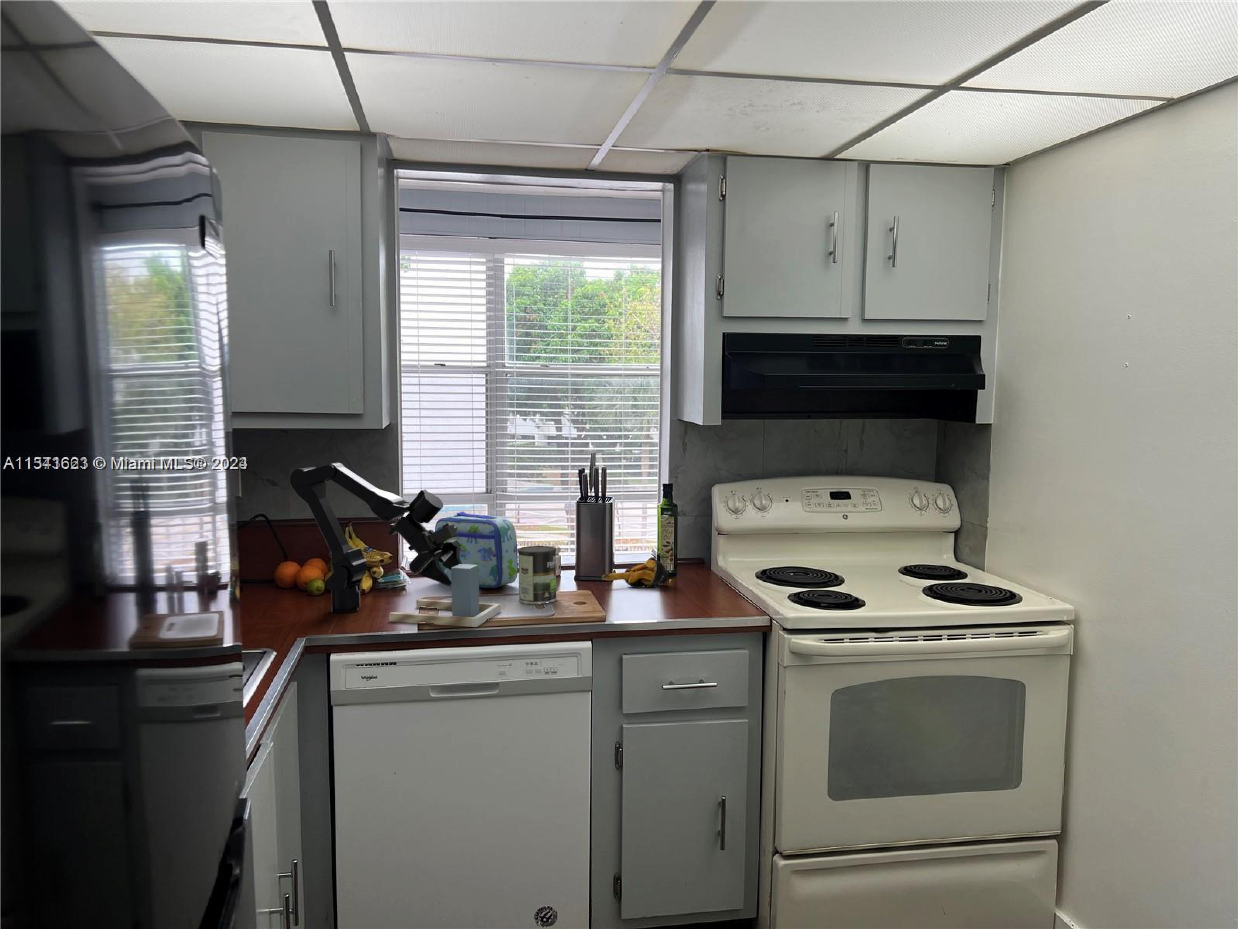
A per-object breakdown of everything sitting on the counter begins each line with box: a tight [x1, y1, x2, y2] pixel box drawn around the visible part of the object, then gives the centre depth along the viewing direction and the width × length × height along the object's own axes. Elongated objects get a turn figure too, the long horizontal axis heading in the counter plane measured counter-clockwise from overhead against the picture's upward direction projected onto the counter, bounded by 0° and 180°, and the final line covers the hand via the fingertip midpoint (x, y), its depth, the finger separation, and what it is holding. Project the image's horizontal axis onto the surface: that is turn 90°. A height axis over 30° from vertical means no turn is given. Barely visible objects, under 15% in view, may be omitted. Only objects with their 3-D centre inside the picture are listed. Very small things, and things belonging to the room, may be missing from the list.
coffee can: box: [517, 545, 557, 605], centre depth 235 cm, size 10×10×14 cm
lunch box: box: [434, 511, 519, 589], centre depth 255 cm, size 26×11×21 cm, turn 56°
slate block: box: [451, 564, 480, 617], centre depth 217 cm, size 5×5×13 cm
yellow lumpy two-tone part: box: [601, 556, 670, 589], centre depth 250 cm, size 9×11×18 cm
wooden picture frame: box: [388, 598, 502, 628], centre depth 219 cm, size 23×15×2 cm, turn 75°
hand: (458, 580), depth 217 cm, fingers open, 9 cm apart
